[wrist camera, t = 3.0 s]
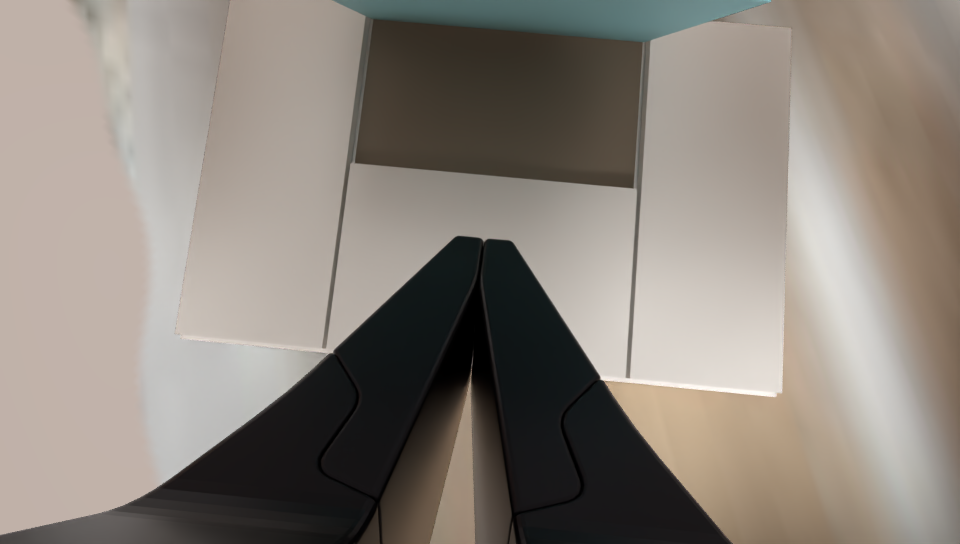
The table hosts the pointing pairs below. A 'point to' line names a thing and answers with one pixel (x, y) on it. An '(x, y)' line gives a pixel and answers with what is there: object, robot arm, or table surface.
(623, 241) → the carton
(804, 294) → the table surface
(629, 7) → the flap
